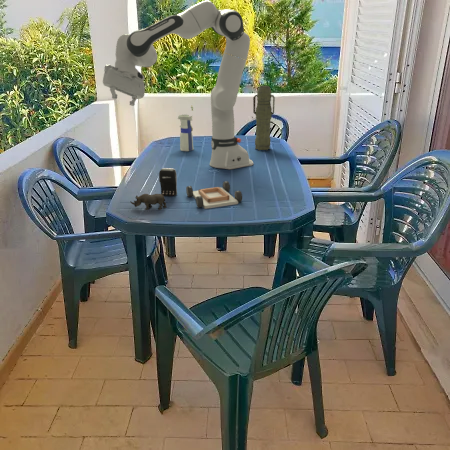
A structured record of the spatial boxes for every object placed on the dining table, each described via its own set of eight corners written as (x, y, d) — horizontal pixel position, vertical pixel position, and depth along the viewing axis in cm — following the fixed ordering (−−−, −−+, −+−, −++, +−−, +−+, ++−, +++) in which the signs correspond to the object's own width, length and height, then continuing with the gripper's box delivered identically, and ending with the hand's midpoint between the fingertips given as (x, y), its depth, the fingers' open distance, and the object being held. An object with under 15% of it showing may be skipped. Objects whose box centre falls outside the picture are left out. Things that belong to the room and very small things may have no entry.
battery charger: (159, 196, 182) (157, 170, 178) (161, 193, 186) (159, 167, 181) (176, 197, 182) (174, 170, 177) (177, 194, 185) (176, 168, 181)
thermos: (252, 146, 260) (253, 85, 246) (272, 147, 259) (275, 85, 244) (251, 150, 252) (253, 87, 238) (272, 150, 251) (275, 87, 236)
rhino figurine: (132, 206, 173) (130, 192, 170) (167, 206, 173) (166, 191, 170) (130, 210, 169) (128, 195, 167) (165, 210, 169) (164, 195, 167)
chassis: (225, 189, 190) (225, 179, 189) (242, 203, 175) (242, 192, 173) (186, 194, 184) (185, 184, 183) (199, 209, 169) (199, 198, 167)
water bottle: (187, 146, 260) (185, 103, 250) (196, 149, 255) (195, 105, 245) (176, 149, 255) (174, 105, 245) (186, 151, 250) (184, 107, 239)
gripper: (109, 60, 184) (107, 92, 182) (147, 78, 199) (145, 107, 198) (100, 65, 188) (98, 96, 186) (138, 81, 203) (136, 110, 202)
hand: (123, 102), depth 192 cm, fingers open, 8 cm apart
